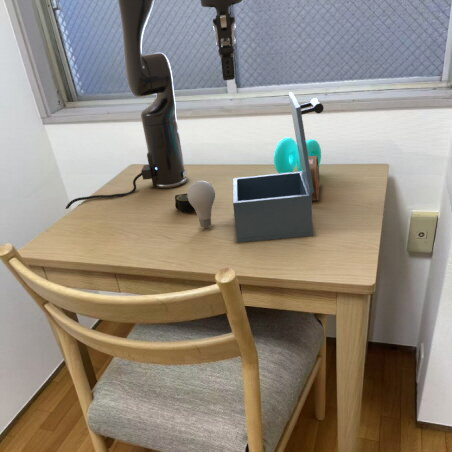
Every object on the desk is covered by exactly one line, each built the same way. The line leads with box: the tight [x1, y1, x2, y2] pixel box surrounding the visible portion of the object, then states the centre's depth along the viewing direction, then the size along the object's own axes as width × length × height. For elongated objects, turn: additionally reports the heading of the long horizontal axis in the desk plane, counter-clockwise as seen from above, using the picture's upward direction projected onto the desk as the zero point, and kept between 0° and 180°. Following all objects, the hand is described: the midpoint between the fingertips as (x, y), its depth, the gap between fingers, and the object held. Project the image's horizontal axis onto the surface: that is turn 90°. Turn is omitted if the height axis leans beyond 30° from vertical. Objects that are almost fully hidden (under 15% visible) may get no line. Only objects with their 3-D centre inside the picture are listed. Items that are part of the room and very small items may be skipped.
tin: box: [308, 155, 320, 201], centre depth 116 cm, size 15×3×8 cm, turn 168°
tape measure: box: [174, 192, 196, 214], centre depth 117 cm, size 7×7×4 cm
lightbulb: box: [187, 180, 216, 229], centre depth 105 cm, size 6×6×11 cm
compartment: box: [232, 171, 313, 243], centre depth 104 cm, size 16×15×9 cm
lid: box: [287, 91, 325, 193], centre depth 96 cm, size 17×15×5 cm
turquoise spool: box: [273, 136, 322, 174], centre depth 127 cm, size 10×10×10 cm
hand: (229, 75), depth 91 cm, fingers open, 8 cm apart
